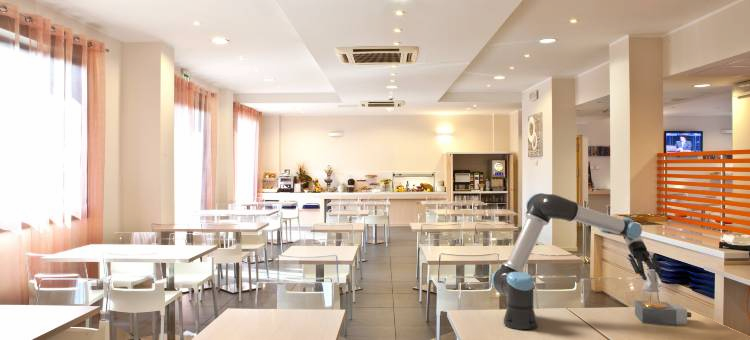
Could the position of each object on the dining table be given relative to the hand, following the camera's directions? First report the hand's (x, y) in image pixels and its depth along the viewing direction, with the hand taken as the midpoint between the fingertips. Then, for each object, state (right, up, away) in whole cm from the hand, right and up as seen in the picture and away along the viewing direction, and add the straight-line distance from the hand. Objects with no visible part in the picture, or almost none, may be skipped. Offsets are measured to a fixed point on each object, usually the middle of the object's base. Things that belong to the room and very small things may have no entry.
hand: (655, 285), depth 227 cm
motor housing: (+7, -18, +4) cm, 19 cm away
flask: (0, -4, +4) cm, 5 cm away
